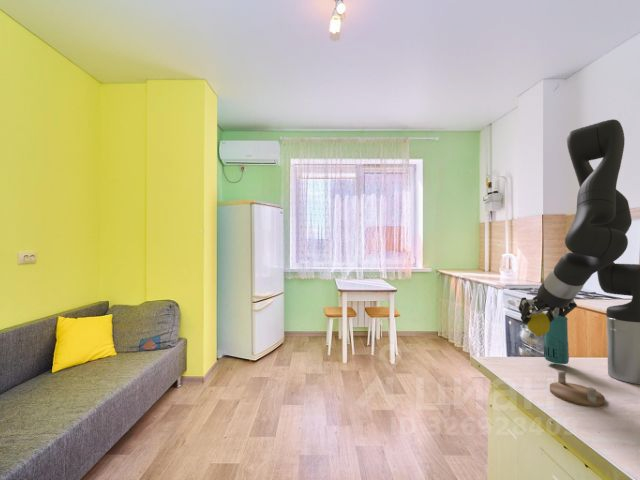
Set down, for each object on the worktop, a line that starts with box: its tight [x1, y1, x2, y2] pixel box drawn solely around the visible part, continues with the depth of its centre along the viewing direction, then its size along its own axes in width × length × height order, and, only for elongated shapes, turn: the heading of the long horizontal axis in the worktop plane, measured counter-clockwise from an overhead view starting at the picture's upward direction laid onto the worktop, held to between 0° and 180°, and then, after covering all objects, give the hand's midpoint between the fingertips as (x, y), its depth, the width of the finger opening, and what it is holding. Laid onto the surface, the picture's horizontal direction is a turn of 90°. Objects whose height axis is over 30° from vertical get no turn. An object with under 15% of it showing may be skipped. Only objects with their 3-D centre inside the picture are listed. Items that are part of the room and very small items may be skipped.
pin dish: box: [549, 370, 606, 407], centre depth 80 cm, size 11×11×4 cm
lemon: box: [526, 311, 550, 338], centre depth 91 cm, size 6×6×8 cm
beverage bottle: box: [543, 309, 570, 365], centre depth 101 cm, size 6×7×20 cm
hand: (534, 321), depth 93 cm, fingers closed on lemon, 5 cm apart
